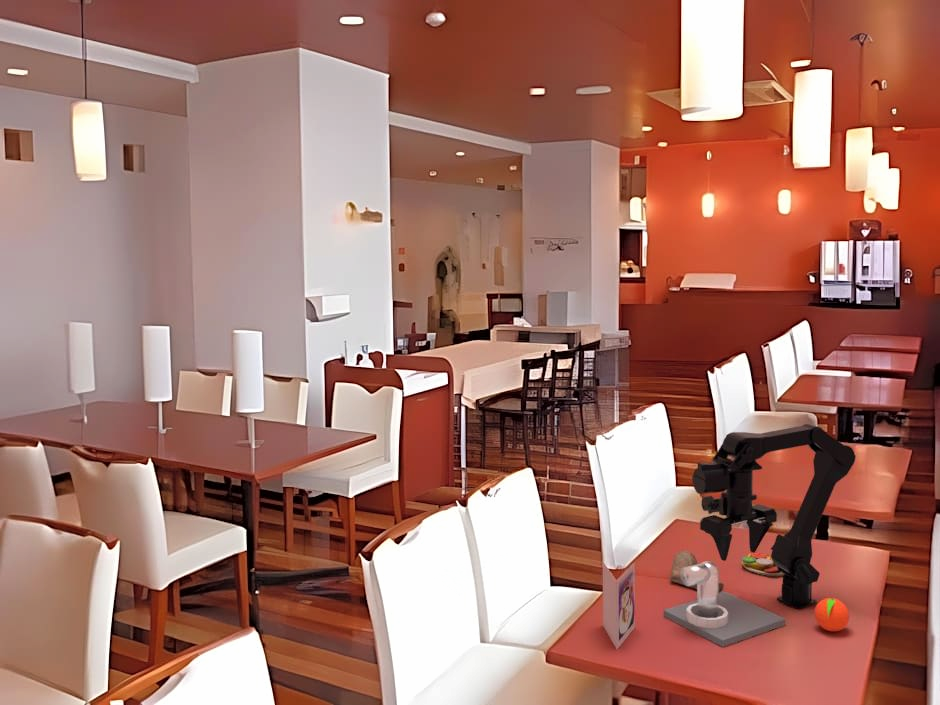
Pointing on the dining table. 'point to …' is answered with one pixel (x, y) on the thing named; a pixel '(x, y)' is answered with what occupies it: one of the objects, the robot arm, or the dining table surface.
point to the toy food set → (761, 564)
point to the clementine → (831, 614)
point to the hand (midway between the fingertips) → (738, 556)
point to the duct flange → (726, 620)
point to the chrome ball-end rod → (703, 587)
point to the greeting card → (619, 604)
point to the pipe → (682, 561)
